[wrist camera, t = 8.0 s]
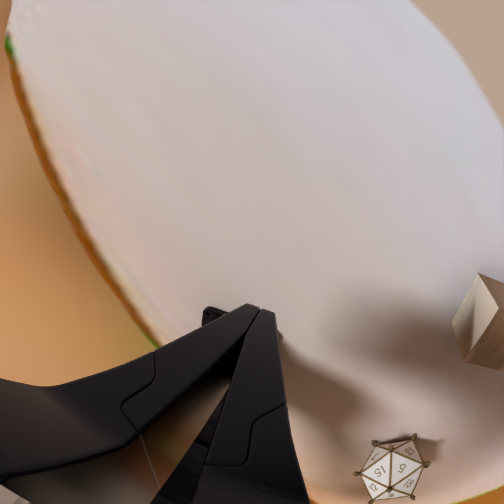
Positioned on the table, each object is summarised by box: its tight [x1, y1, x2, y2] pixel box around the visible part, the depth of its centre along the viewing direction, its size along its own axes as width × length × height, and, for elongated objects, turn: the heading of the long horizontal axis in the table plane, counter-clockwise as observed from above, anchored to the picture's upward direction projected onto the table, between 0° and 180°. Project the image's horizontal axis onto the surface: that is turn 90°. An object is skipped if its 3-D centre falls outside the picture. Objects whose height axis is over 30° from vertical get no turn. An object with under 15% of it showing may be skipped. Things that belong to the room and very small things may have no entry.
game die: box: [353, 433, 431, 504], centre depth 23 cm, size 9×8×10 cm
